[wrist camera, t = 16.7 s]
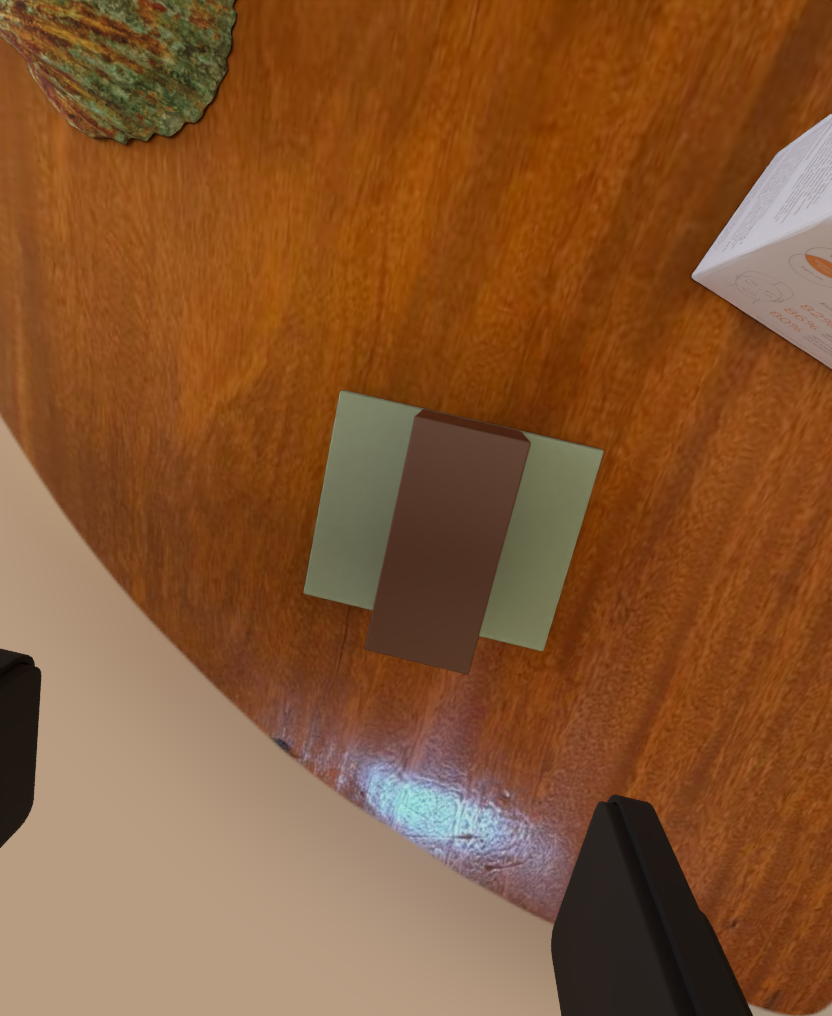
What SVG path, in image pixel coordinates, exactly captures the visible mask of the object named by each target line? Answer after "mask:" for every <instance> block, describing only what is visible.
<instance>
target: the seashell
mask: <svg viewBox="0 0 832 1016" xmlns="http://www.w3.org/2000/svg"><path fill="white" fill-rule="evenodd" d="M234 1H235V0H0V36H1V37H2V38H3V39H4V40H5V41H6V42H7V43H9V44H10V45H11V46H13V47H14V48H15V49H16V50H17V51H18V52H19V53H20V54H21V55H22V57H23V58H24V59H25V60H26V61H27V63H28V70H29V72H30V73H31V75H32V76H33V78H34V80H35V81H36V83H37V84H38V85H39V87H40V88H41V90H42V91H43V92H44V94H45V95H46V97H47V98H48V100H49V101H50V102H51V103H52V105H53V106H54V107H55V108H56V110H57V111H58V112H59V113H60V114H61V116H62V117H63V118H64V119H65V120H66V121H67V122H68V123H69V124H71V125H72V126H74V127H75V128H77V129H79V130H81V131H83V132H84V133H85V134H87V135H89V136H90V137H92V138H94V139H98V138H106V137H110V138H113V139H115V140H116V141H118V142H120V143H122V144H124V145H126V143H127V142H128V141H129V139H130V138H136V139H140V140H143V141H147V140H148V139H149V138H150V137H151V135H152V134H153V133H158V134H160V135H162V136H165V137H166V136H171V135H173V134H174V133H176V132H177V131H178V130H180V129H181V127H182V125H183V124H184V123H185V122H191V123H194V122H196V121H198V120H199V119H200V118H201V117H202V115H203V111H204V109H205V108H206V106H207V104H208V103H210V102H211V101H212V100H213V98H214V96H215V94H216V91H217V89H218V85H219V83H220V81H221V80H222V79H223V77H224V75H225V73H226V71H227V69H228V68H227V64H226V57H227V56H228V54H229V51H230V49H231V45H232V37H231V28H232V26H233V24H234V22H235V20H236V11H235V10H234V9H233V6H232V5H233V3H234Z"/></svg>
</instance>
